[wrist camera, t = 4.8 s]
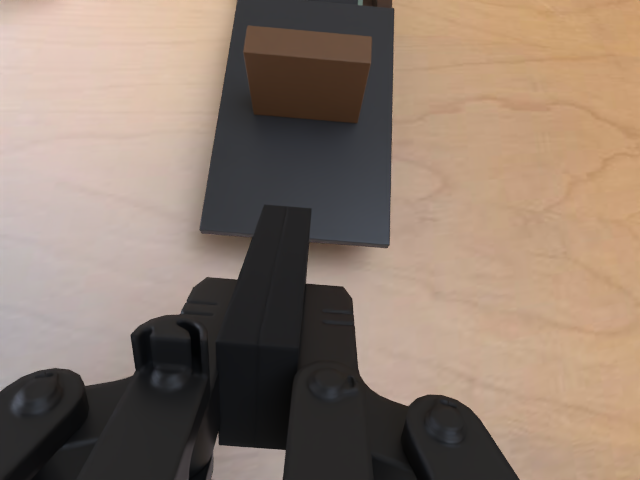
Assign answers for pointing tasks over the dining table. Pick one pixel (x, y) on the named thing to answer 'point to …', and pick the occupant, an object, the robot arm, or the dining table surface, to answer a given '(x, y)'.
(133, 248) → the dining table surface
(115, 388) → the robot arm
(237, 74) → the lid
